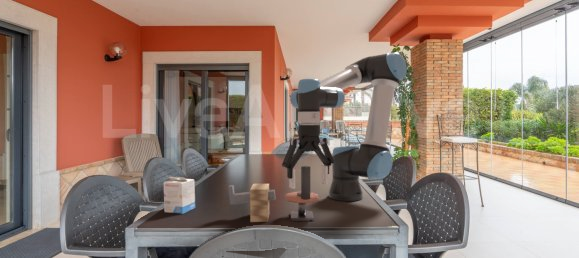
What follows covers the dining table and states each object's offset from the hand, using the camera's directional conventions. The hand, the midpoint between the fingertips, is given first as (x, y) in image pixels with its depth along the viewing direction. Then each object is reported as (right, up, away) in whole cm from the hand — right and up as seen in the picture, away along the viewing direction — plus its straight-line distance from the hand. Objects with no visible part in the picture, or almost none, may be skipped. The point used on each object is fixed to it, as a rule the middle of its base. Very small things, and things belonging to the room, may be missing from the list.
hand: (308, 185), depth 112 cm
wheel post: (-2, -12, +4) cm, 13 cm away
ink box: (-49, -12, +14) cm, 53 cm away
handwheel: (-2, -5, +4) cm, 7 cm away
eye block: (-17, -12, +4) cm, 21 cm away
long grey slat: (-20, -6, +4) cm, 21 cm away
